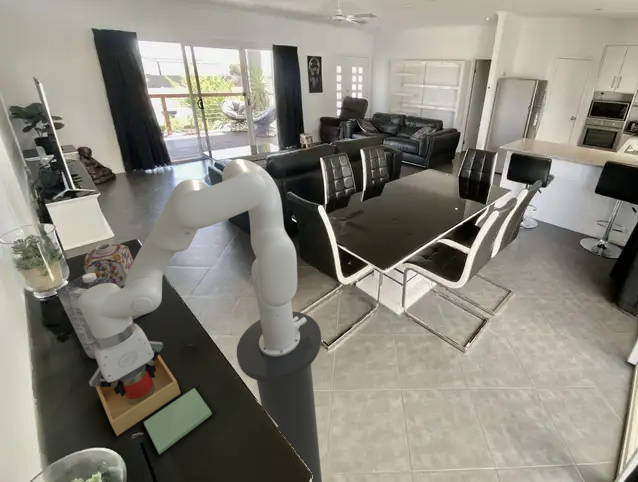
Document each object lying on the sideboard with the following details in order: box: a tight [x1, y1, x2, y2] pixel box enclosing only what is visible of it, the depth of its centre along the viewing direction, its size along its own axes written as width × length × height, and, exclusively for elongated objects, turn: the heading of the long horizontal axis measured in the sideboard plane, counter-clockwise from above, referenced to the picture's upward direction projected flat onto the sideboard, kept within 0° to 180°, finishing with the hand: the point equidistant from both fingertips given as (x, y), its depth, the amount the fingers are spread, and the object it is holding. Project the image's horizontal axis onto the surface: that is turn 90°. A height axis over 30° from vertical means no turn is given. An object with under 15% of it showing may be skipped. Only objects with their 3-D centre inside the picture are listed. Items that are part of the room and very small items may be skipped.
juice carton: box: [55, 273, 111, 360], centre depth 93 cm, size 9×10×27 cm
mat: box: [143, 387, 213, 455], centre depth 80 cm, size 12×10×1 cm
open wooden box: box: [95, 354, 181, 437], centre depth 84 cm, size 14×14×5 cm
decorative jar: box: [83, 243, 134, 289], centre depth 123 cm, size 12×12×18 cm
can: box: [118, 363, 155, 404], centre depth 83 cm, size 6×6×9 cm
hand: (137, 383), depth 84 cm, fingers closed on can, 6 cm apart
